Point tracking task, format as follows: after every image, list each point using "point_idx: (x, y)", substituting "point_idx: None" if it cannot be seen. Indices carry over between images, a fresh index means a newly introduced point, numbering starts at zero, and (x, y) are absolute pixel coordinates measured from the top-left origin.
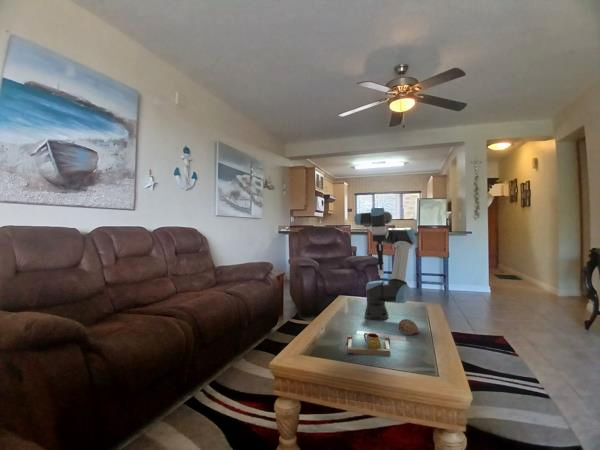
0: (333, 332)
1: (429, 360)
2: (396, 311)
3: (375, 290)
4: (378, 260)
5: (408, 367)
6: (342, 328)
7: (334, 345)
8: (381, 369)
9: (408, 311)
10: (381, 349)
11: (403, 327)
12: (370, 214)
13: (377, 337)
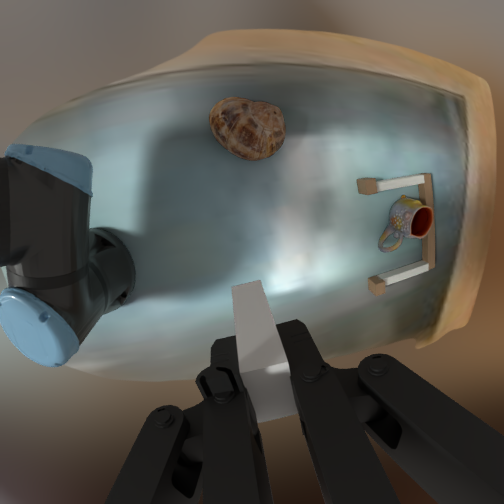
0: None
1: (422, 94)
2: None
3: (76, 312)
4: (396, 435)
5: (456, 139)
6: None
7: (393, 307)
8: (470, 187)
9: None
10: (428, 194)
11: (283, 139)
12: None
13: (431, 208)
